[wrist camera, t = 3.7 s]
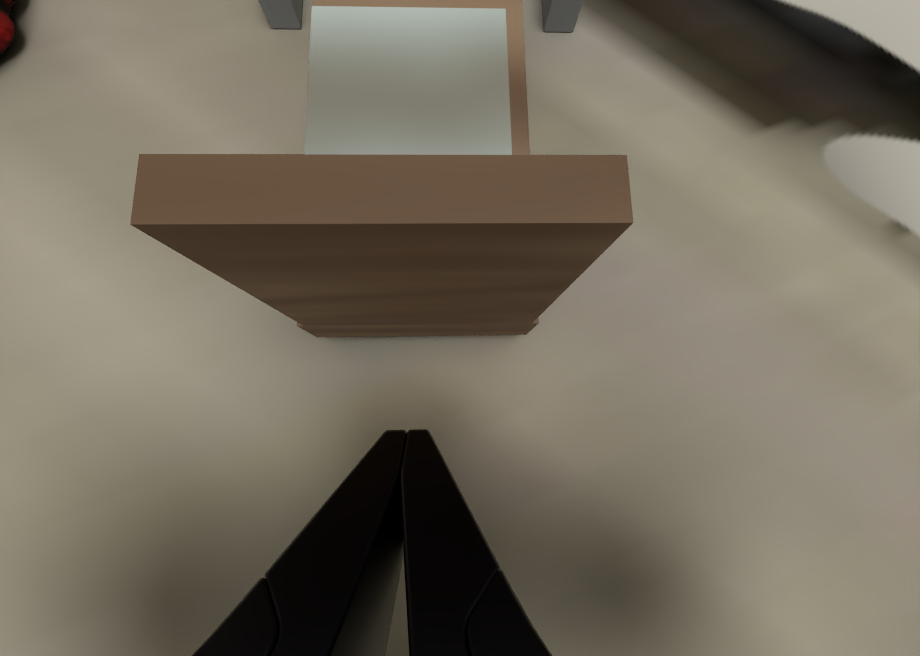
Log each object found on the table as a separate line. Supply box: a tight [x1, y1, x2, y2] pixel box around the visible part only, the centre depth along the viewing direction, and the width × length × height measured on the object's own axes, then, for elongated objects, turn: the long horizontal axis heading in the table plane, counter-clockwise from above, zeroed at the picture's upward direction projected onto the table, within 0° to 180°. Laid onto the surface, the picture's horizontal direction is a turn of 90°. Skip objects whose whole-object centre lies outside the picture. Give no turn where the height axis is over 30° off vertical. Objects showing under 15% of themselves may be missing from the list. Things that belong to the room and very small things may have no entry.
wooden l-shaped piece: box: [130, 0, 633, 337], centre depth 12 cm, size 14×7×10 cm, turn 1°
